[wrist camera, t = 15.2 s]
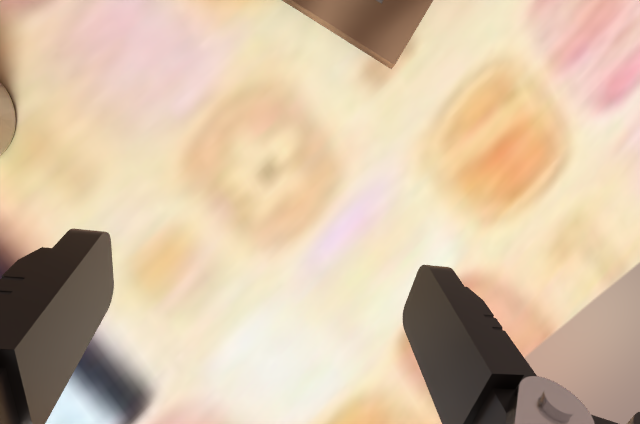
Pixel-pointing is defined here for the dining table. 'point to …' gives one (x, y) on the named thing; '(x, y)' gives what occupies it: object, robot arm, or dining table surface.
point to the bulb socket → (369, 23)
